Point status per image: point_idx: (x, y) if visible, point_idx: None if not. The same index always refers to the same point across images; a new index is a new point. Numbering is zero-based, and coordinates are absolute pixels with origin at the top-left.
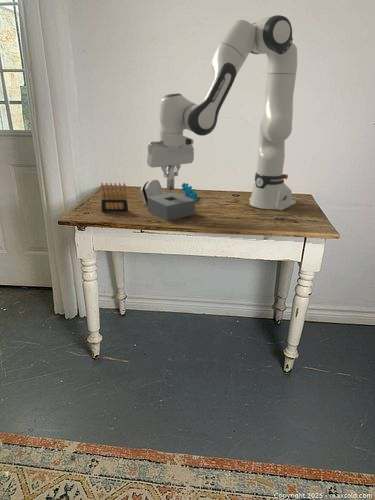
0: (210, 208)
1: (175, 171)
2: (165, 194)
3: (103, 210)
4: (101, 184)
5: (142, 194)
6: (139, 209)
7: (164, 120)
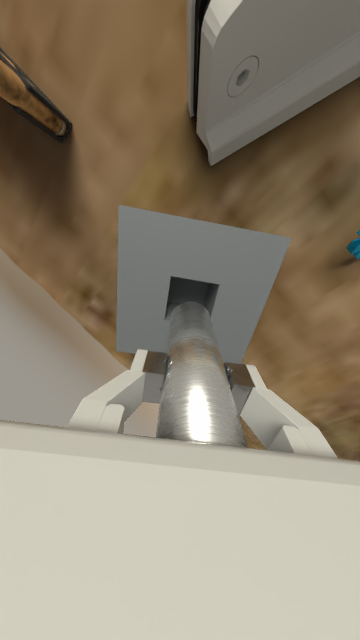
0: (305, 338)
1: (240, 404)
2: (227, 232)
3: None
4: None
5: (188, 35)
6: (123, 157)
7: None
